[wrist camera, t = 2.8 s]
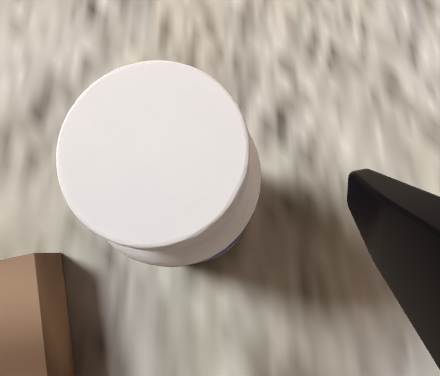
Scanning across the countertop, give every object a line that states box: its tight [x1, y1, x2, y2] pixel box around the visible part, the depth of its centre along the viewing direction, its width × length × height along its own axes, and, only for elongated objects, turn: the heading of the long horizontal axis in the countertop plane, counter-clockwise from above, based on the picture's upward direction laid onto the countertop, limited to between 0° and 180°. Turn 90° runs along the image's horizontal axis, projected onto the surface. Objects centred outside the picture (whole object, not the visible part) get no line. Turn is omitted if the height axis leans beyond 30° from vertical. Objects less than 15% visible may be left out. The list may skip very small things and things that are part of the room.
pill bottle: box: [56, 60, 261, 267], centre depth 13 cm, size 6×6×10 cm
